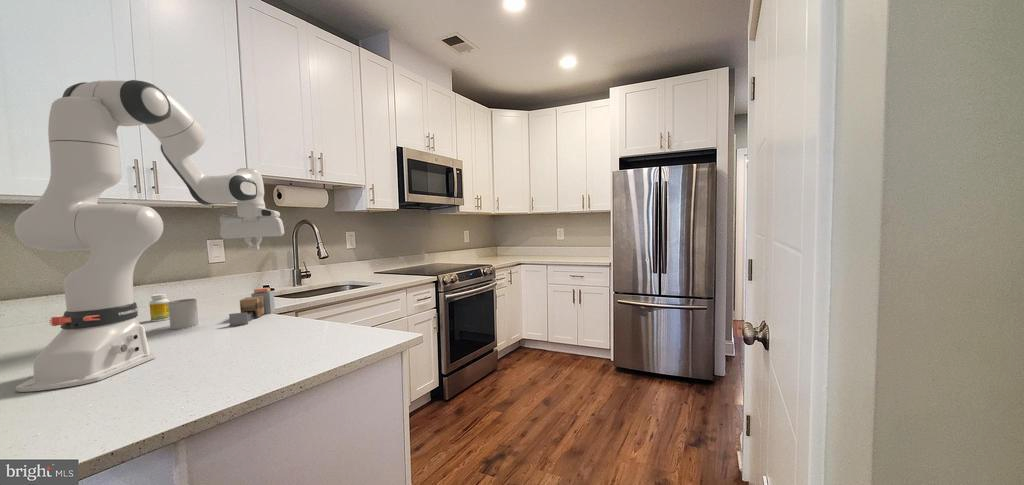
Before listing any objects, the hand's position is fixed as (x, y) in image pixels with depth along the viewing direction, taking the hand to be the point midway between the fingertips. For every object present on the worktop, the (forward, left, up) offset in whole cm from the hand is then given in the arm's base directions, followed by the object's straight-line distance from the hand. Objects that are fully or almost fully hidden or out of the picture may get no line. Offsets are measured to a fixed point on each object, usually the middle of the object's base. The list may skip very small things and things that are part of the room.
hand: (254, 249), depth 141 cm
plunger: (+1, -1, -20) cm, 20 cm away
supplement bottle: (+7, +34, -25) cm, 43 cm away
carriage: (-5, 0, -25) cm, 25 cm away
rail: (-9, 0, -25) cm, 26 cm away
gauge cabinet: (+1, -1, -25) cm, 25 cm away
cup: (-9, +19, -25) cm, 33 cm away
